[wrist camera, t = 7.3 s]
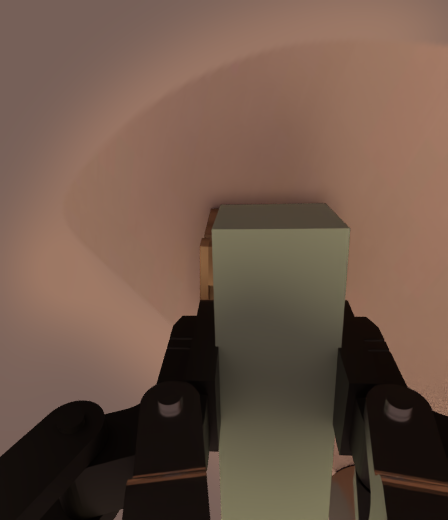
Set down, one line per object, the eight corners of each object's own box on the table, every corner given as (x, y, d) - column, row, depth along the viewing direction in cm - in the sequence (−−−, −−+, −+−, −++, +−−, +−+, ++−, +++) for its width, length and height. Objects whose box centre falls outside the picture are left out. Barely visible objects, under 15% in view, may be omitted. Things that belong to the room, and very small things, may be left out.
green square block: (310, 477, 15) (325, 203, 12) (325, 562, 12) (350, 228, 9) (227, 475, 15) (220, 204, 12) (222, 557, 12) (211, 229, 9)
